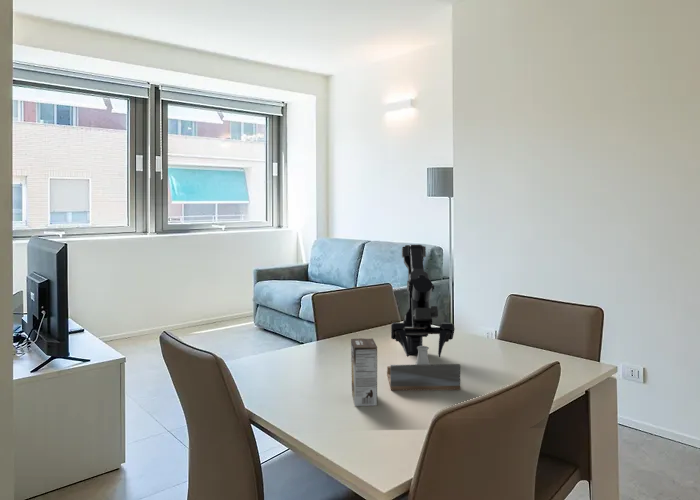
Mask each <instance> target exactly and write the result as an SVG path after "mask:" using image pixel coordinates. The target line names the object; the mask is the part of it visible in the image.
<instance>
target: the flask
mask: <svg viewBox="0 0 700 500" xmlns="http://www.w3.org/2000/svg"><path fill="white" fill-rule="evenodd" d="M429 348H430V347H429V346H426V345H423V346H418V347H417V349H418V354H417V357H416V361H415V364H414V365H420V364H431V363H430V360H429V355H428V350H429Z"/></svg>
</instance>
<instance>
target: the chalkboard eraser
mask: <svg viewBox="0 0 700 500" xmlns="http://www.w3.org/2000/svg"><path fill="white" fill-rule="evenodd" d="M386 368H387V369H386V376H387V380H388V385H389V388H390V389H389V390H390V391H450V390H451V391H454V390H455V391H459V390H461V364H459V363H455V364H454V363H447V364H445V363H443V364H442V363H439V364H438V363H435V364H431V363H430V364H420V365H415V364H390V365H389V366H388V365H387V366H386Z"/></svg>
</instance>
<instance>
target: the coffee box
mask: <svg viewBox="0 0 700 500" xmlns="http://www.w3.org/2000/svg"><path fill="white" fill-rule="evenodd" d="M350 347H351V349H350V351H351V352H350V355H351V358H350V360H351V361H350V362H351V366H350V367H351V397H352V401H353V404H354V407H365V406H367V407H368V406H372V407H373V406H378V346H377V344H376V341H375V340H374V338H350Z"/></svg>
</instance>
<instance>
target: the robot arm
mask: <svg viewBox="0 0 700 500" xmlns="http://www.w3.org/2000/svg"><path fill="white" fill-rule="evenodd" d="M426 251H427V248H426V246H424V245H422V244H405V245H404V246H402V248H401V258H403V263H404V266H406V269H407V270H408V271H407V273H408V274H407V277H408V278H407V281H406V290H407V292H408V309H407V312H406V314H405V315H404V319H403V320H402V322H392V323H391V325H390V326H391V327H390V328H391V329H390V332H391V333H390V336H391V338H390V339H392V340H395V341H396V342H398V343H399V344H400V345H401V347H402V349H403V351H404V353H405V354H406V355H405V356H406V357H409V356H410V355H411V356H413V355H417V356H418V349H417V347H418V346H424V344H423V338H427V337H428V336H429V335H439V338H438V348H437V349H438V351H437V352H438V353H437V354H438V357H439V358H440V357H441V355H442V350H443V348H444V345H445V344H446V343H449V341H451V340H453V338H454V334H455V325H454V324H453V322H439V323H440V324H439V327H438V326H437V327H432V325H433V319H435V318H438V317H439V310H438V306H437V305H435V306H430V305H431V304H430V302H431V301H430V300H431V296H432V292H433V290H435V285H434V284H433V282H432V280H430V278H429V276H430V275H429V273H427V272H426V271H425V268H424V267H425V266H424V258H425V257H427V253H426Z"/></svg>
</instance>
